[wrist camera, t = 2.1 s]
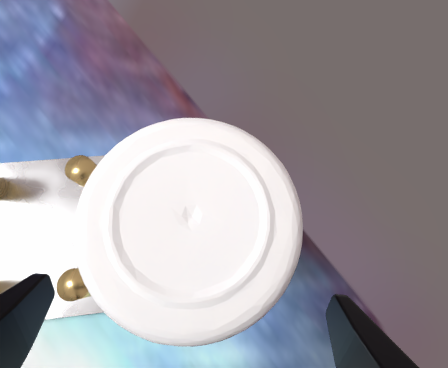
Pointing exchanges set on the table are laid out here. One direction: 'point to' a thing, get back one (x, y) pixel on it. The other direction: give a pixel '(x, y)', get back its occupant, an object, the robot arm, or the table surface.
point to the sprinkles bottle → (188, 232)
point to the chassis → (44, 228)
